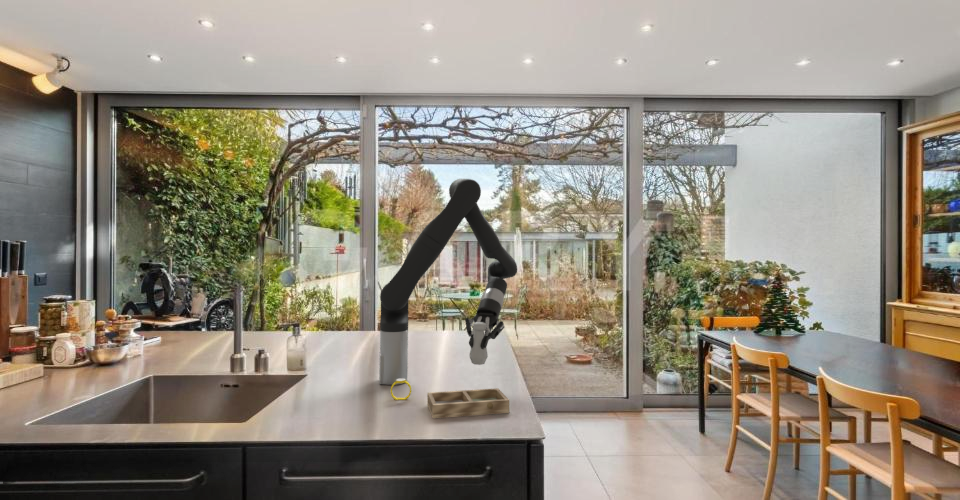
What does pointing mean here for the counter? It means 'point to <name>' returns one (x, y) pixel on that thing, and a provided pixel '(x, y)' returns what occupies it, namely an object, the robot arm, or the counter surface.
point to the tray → (467, 403)
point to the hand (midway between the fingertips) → (476, 347)
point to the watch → (401, 382)
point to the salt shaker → (478, 344)
